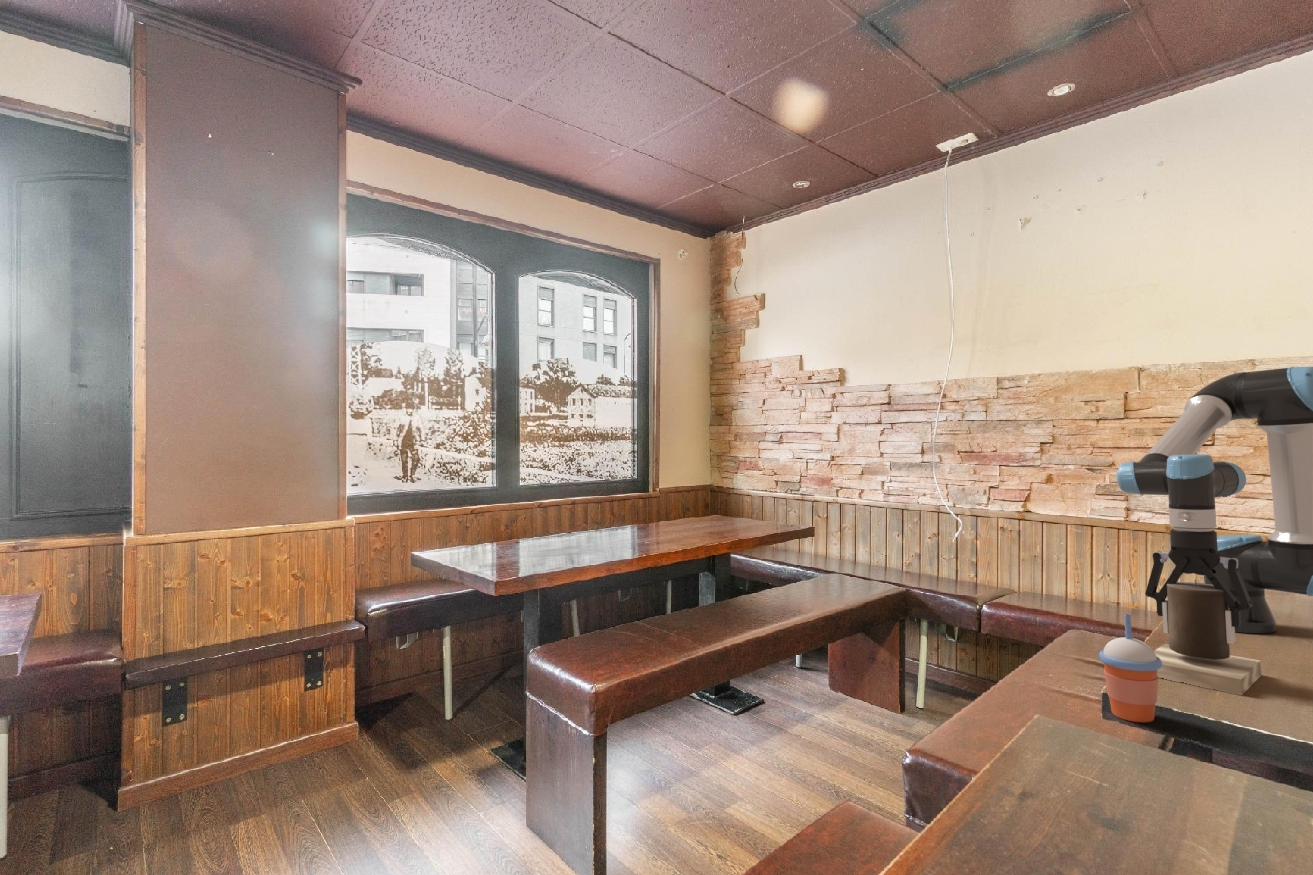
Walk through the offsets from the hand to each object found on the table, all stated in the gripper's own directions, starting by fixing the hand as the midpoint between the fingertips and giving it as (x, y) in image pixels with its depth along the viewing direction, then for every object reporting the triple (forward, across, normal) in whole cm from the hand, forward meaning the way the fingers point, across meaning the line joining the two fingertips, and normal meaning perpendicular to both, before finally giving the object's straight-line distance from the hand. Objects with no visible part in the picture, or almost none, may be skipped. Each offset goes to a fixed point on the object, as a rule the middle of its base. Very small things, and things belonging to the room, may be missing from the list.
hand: (1198, 636), depth 135 cm
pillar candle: (+3, 0, 0) cm, 3 cm away
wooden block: (+8, 0, 0) cm, 8 cm away
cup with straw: (+8, -2, -33) cm, 34 cm away
